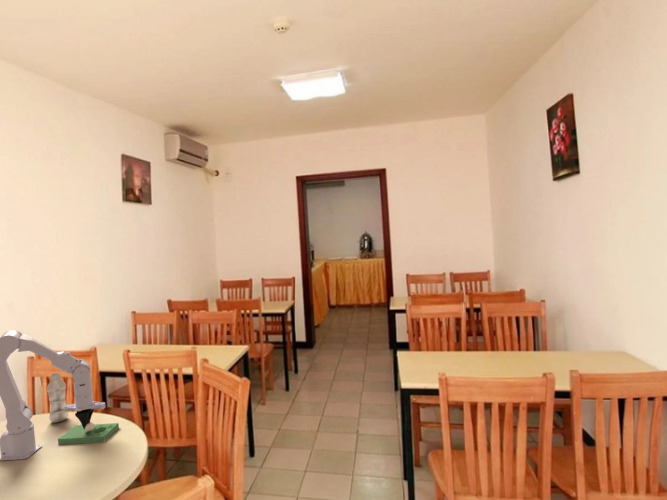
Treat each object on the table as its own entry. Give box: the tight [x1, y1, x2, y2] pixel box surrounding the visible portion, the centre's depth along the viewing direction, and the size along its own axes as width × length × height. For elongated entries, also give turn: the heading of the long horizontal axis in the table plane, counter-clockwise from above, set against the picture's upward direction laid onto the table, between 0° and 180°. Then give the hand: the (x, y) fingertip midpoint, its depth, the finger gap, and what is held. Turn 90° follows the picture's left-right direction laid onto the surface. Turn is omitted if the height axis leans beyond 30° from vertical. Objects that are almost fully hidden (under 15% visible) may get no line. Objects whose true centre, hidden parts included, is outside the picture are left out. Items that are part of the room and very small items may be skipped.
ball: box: [85, 421, 95, 431], centre depth 148 cm, size 3×3×3 cm
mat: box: [57, 422, 120, 445], centre depth 148 cm, size 17×10×2 cm, turn 90°
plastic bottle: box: [46, 372, 69, 424], centre depth 162 cm, size 6×7×20 cm
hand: (86, 427), depth 148 cm, fingers closed, pressing on ball
